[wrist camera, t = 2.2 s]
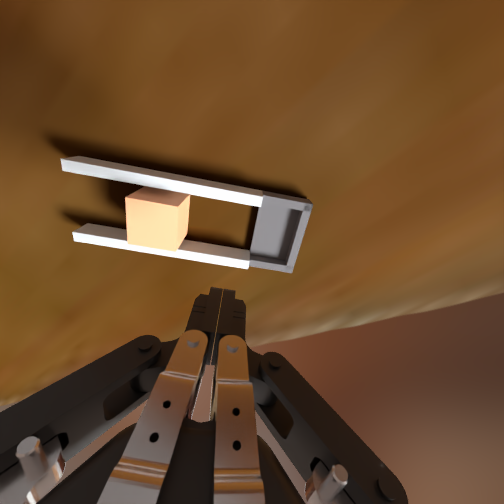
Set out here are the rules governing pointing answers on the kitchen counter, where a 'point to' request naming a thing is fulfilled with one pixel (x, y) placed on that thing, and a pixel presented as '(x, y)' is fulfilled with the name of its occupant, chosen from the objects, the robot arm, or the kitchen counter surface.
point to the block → (157, 218)
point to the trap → (279, 231)
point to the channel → (167, 182)
